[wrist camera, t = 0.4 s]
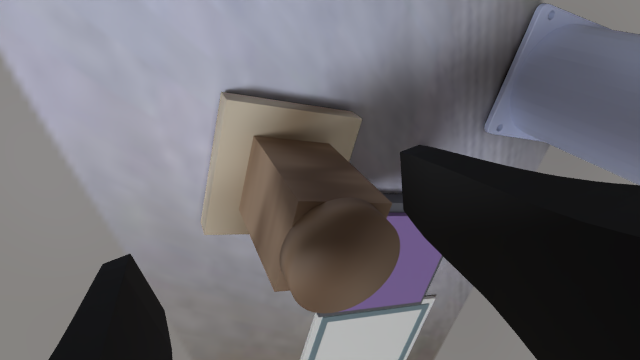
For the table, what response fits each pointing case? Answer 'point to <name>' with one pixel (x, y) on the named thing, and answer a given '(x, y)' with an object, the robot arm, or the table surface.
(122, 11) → the table surface
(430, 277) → the ink pad
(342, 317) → the form card
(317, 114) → the stamp
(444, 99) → the table surface
